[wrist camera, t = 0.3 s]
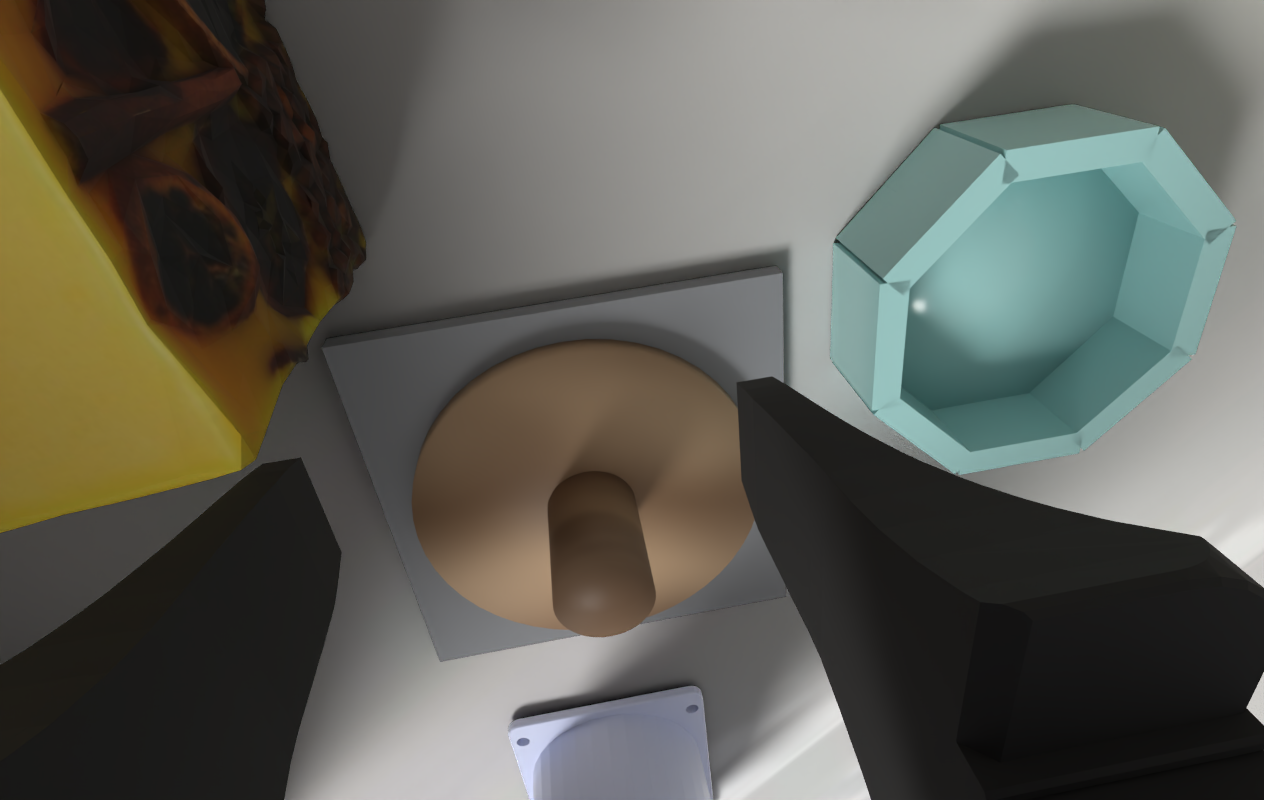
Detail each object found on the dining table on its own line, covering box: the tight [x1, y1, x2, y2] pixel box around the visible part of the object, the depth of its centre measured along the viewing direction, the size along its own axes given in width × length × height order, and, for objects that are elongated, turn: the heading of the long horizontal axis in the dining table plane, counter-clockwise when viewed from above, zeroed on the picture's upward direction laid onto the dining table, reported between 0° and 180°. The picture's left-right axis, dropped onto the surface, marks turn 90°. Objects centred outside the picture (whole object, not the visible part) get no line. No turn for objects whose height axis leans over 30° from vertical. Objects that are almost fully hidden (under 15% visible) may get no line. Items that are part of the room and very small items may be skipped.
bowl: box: [830, 104, 1236, 475], centre depth 21 cm, size 10×10×3 cm
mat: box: [322, 266, 786, 662], centre depth 24 cm, size 13×13×1 cm
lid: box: [412, 339, 755, 637], centre depth 22 cm, size 11×11×5 cm
